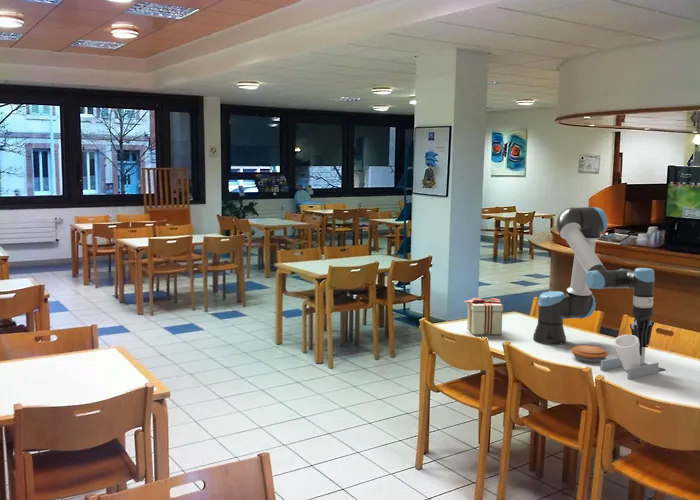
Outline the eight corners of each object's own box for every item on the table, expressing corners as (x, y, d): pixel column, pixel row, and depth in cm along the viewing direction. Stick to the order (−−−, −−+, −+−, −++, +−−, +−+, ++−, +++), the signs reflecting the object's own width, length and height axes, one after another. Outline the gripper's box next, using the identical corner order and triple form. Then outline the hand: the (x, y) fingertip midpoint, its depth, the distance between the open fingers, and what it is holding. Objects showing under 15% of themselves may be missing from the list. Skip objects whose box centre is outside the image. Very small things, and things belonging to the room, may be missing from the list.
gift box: (491, 326, 341) (492, 294, 339) (504, 335, 323) (506, 301, 320) (460, 327, 338) (461, 294, 336) (471, 336, 320) (472, 301, 318)
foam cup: (615, 365, 271) (609, 339, 267) (636, 358, 271) (630, 331, 267) (627, 377, 262) (621, 350, 258) (649, 369, 262) (643, 342, 258)
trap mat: (630, 364, 275) (630, 363, 275) (639, 362, 278) (639, 361, 278) (656, 372, 265) (656, 371, 265) (665, 369, 268) (665, 369, 268)
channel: (600, 370, 267) (600, 360, 267) (628, 363, 276) (629, 354, 276) (629, 379, 255) (629, 369, 255) (657, 372, 264) (658, 363, 264)
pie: (562, 356, 287) (563, 345, 286) (589, 352, 293) (589, 341, 292) (588, 366, 273) (589, 354, 272) (616, 362, 279) (616, 350, 279)
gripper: (641, 309, 259) (638, 367, 262) (661, 306, 265) (658, 362, 268) (624, 306, 265) (622, 362, 268) (644, 302, 272) (642, 357, 275)
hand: (640, 362), depth 268 cm, fingers closed
